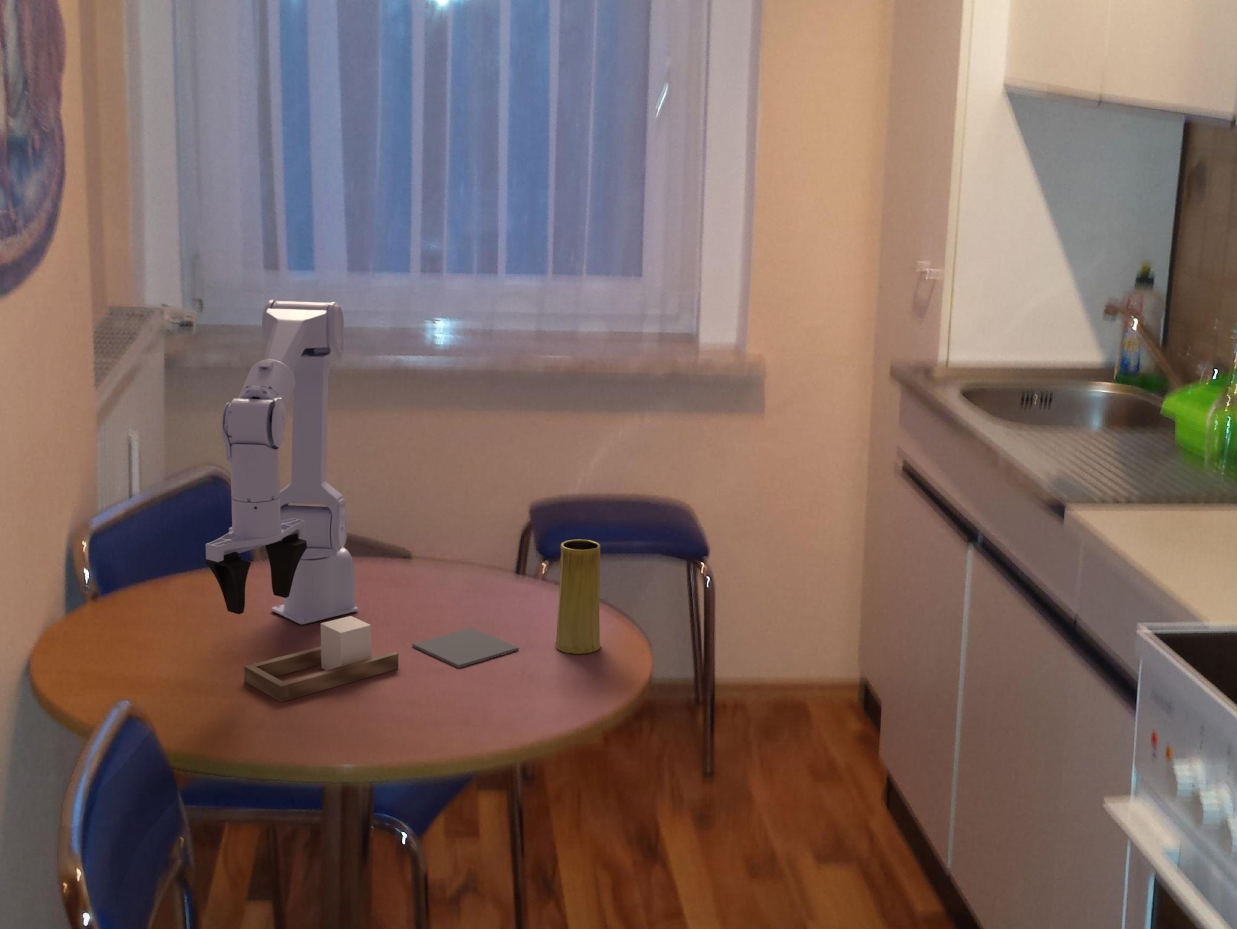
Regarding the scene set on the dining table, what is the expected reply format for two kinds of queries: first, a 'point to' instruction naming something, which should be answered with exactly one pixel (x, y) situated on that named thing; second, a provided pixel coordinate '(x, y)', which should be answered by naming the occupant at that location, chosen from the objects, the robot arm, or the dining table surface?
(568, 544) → the vase
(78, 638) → the dining table surface
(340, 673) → the walnut channel
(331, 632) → the white block
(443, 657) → the slate mat
